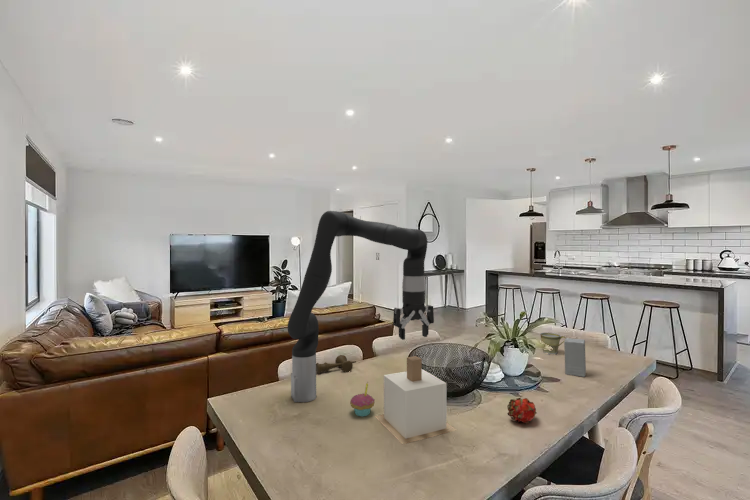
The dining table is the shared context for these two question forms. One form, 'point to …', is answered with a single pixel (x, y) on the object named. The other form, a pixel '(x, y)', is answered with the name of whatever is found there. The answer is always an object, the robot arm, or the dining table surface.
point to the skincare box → (575, 357)
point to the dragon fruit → (521, 410)
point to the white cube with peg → (414, 400)
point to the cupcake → (362, 403)
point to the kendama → (335, 365)
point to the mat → (415, 438)
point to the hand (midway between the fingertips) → (413, 337)
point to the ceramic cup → (551, 341)
